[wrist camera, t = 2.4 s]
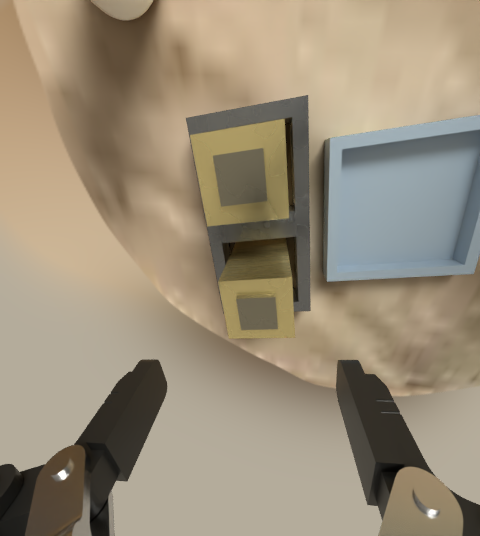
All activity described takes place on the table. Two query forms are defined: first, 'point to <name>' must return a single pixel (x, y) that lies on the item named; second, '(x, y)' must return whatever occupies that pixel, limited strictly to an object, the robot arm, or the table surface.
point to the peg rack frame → (299, 211)
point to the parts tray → (403, 202)
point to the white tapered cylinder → (123, 8)
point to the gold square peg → (258, 290)
